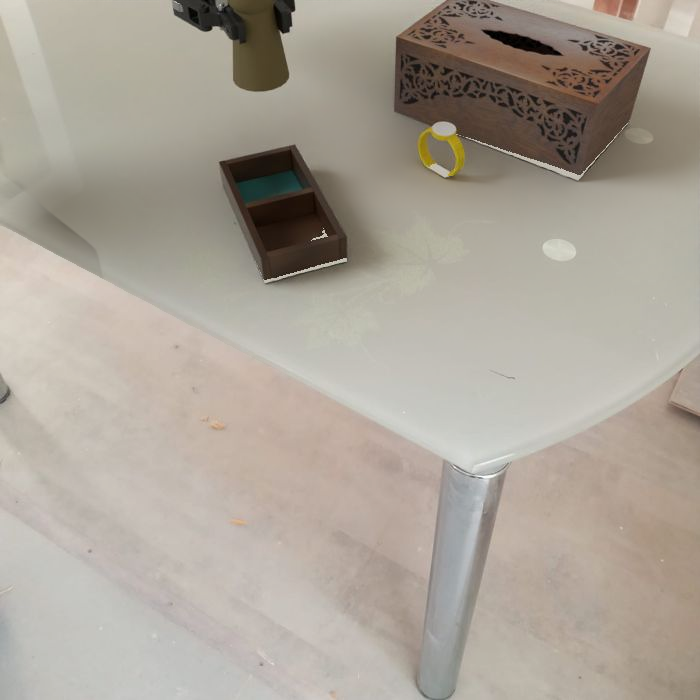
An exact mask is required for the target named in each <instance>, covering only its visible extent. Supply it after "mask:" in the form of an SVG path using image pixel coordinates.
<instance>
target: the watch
mask: <svg viewBox="0 0 700 700" xmlns="http://www.w3.org/2000/svg"><path fill="white" fill-rule="evenodd" d="M429 134H431V136H432V137H433V138H434V139H436V140H437V141H440V142H441V141H442V142H448V144H449V146H450V147H451V149H452V150H453V154H454V157H455V162H454V163H455V164H454V168H453V169H452V170H453V171H452V170H451V171H452V172H450V173H449V174H448V176H452V177H454V176H455V175H456V174H458V173H459V172H460V171H461V170H462V169H463V167H464V166H465V160H466V153H465V150H464V145H463V143H462V141H461V140H460V138H459V136H458V135H456V127H455V126H454V125H453V124H452V123H449V122H437V123H435V124H434V125H433V126H431V125H430V127H428V128H427V129H425V130H424V131H423V132H422V133H420V135H419V137H418V141H417V149H418V156H419V158H420V160H421V162H422V164H423V166H424V167H425V166H428V167H430V165H432V164H435V163H437V162H436V161H435V160H434V158H433V157H432V155H431V154H430V152H429V148H428V138H429Z"/></svg>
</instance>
